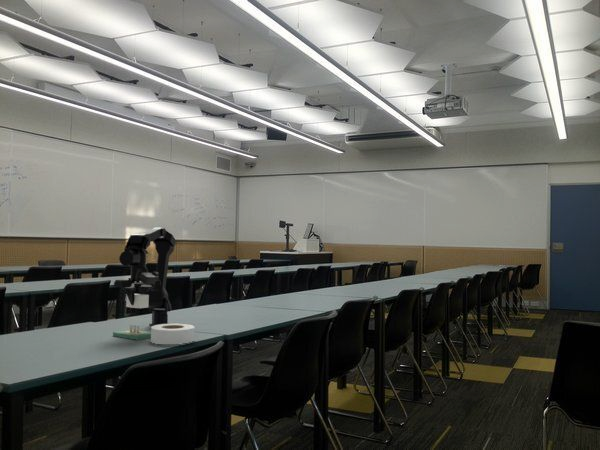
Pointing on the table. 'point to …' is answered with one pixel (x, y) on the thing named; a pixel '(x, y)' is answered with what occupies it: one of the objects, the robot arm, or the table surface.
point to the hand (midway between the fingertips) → (137, 304)
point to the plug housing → (138, 301)
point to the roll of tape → (172, 333)
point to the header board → (132, 333)
